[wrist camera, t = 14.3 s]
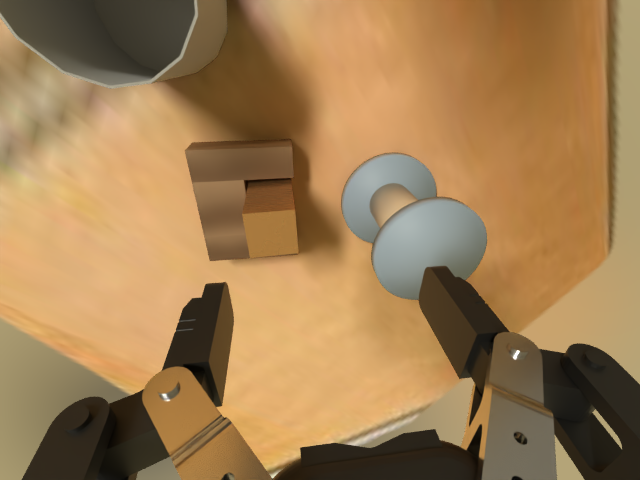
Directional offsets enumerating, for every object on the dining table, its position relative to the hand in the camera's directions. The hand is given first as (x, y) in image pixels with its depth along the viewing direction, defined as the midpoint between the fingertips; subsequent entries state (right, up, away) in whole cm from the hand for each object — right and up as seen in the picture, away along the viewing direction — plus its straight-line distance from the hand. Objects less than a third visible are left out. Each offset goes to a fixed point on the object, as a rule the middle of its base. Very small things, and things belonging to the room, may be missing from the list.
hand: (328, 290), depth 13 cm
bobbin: (+6, +6, +18) cm, 20 cm away
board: (-7, +6, +16) cm, 18 cm away
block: (-5, +6, +16) cm, 18 cm away
